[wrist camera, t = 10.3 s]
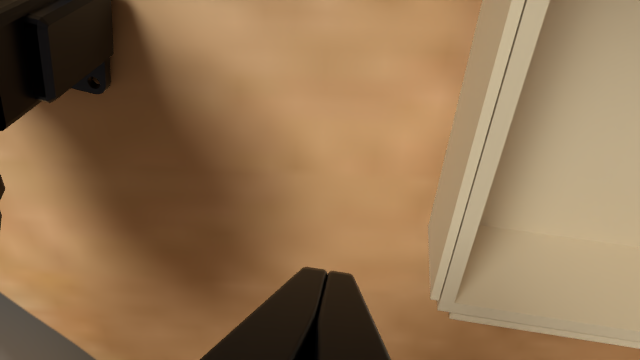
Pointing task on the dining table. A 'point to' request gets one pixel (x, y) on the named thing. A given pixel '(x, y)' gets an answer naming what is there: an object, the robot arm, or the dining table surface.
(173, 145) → the dining table surface
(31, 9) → the robot arm
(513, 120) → the carton
